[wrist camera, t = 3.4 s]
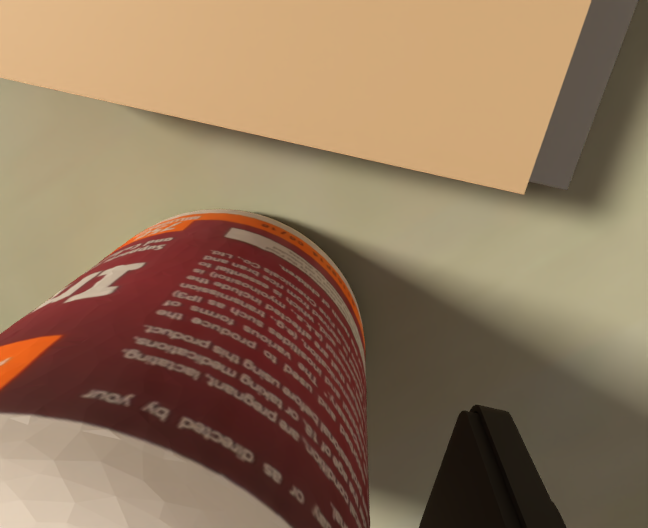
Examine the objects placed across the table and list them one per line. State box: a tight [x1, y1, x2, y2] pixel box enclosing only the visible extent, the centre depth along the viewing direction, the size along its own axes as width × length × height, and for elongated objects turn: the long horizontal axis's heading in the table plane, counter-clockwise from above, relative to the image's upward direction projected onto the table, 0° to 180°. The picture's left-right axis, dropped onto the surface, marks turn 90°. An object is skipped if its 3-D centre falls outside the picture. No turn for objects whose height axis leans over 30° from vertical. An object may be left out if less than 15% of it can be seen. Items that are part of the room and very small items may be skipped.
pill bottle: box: [0, 209, 370, 528], centre depth 7 cm, size 6×6×11 cm
